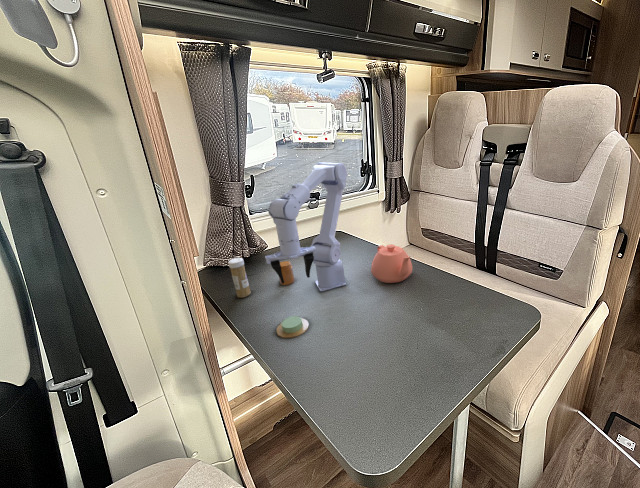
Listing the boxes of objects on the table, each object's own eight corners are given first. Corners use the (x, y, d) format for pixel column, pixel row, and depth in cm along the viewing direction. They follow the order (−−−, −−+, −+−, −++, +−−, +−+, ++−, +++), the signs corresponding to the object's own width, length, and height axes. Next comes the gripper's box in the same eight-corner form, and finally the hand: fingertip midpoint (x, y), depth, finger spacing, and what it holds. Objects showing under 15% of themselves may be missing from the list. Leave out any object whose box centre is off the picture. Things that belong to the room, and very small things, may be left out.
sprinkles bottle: (252, 295, 110) (244, 260, 105) (237, 299, 108) (229, 264, 103) (249, 289, 114) (241, 256, 109) (235, 293, 111) (227, 259, 107)
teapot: (427, 282, 115) (427, 250, 111) (391, 295, 107) (389, 262, 103) (395, 261, 132) (394, 233, 128) (361, 271, 125) (359, 242, 120)
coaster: (305, 315, 98) (305, 314, 98) (311, 331, 91) (311, 330, 90) (274, 324, 94) (274, 323, 94) (278, 342, 87) (278, 341, 87)
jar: (293, 277, 122) (290, 259, 119) (295, 282, 118) (292, 264, 115) (279, 280, 120) (275, 262, 117) (281, 286, 116) (277, 268, 113)
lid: (283, 335, 89) (282, 330, 88) (281, 324, 94) (280, 319, 93) (304, 329, 91) (303, 324, 90) (300, 319, 96) (300, 314, 95)
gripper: (263, 248, 87) (272, 290, 92) (316, 238, 93) (321, 278, 98) (261, 240, 93) (269, 280, 98) (311, 231, 99) (316, 269, 104)
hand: (295, 279), depth 99 cm, fingers open, 7 cm apart
